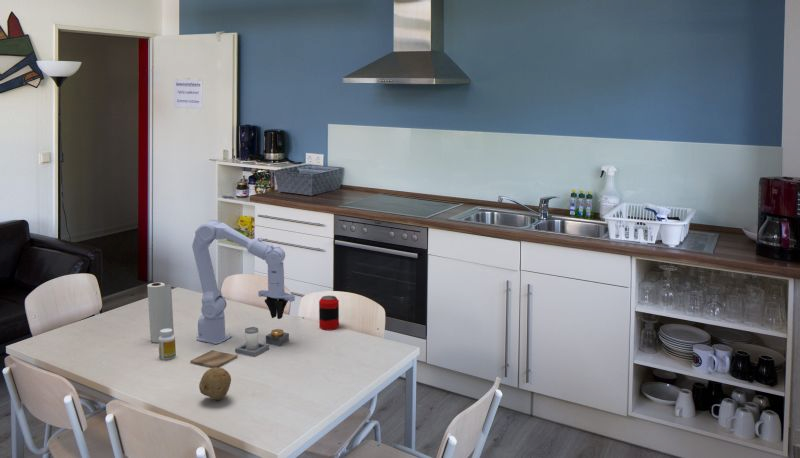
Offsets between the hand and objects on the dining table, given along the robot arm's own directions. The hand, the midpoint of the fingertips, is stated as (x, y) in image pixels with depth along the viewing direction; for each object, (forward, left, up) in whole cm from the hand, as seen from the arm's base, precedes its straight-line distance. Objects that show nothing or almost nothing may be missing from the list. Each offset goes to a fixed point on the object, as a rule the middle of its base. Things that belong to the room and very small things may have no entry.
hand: (276, 317), depth 250 cm
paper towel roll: (-39, -18, -10) cm, 44 cm away
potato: (+12, -48, -10) cm, 50 cm away
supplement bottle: (-25, -29, -10) cm, 39 cm away
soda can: (+8, +23, -10) cm, 26 cm away
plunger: (0, 0, -8) cm, 8 cm away
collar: (-3, -11, -9) cm, 15 cm away
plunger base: (0, 0, -9) cm, 9 cm away
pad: (-9, -24, -9) cm, 27 cm away
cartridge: (-3, -11, -9) cm, 15 cm away
